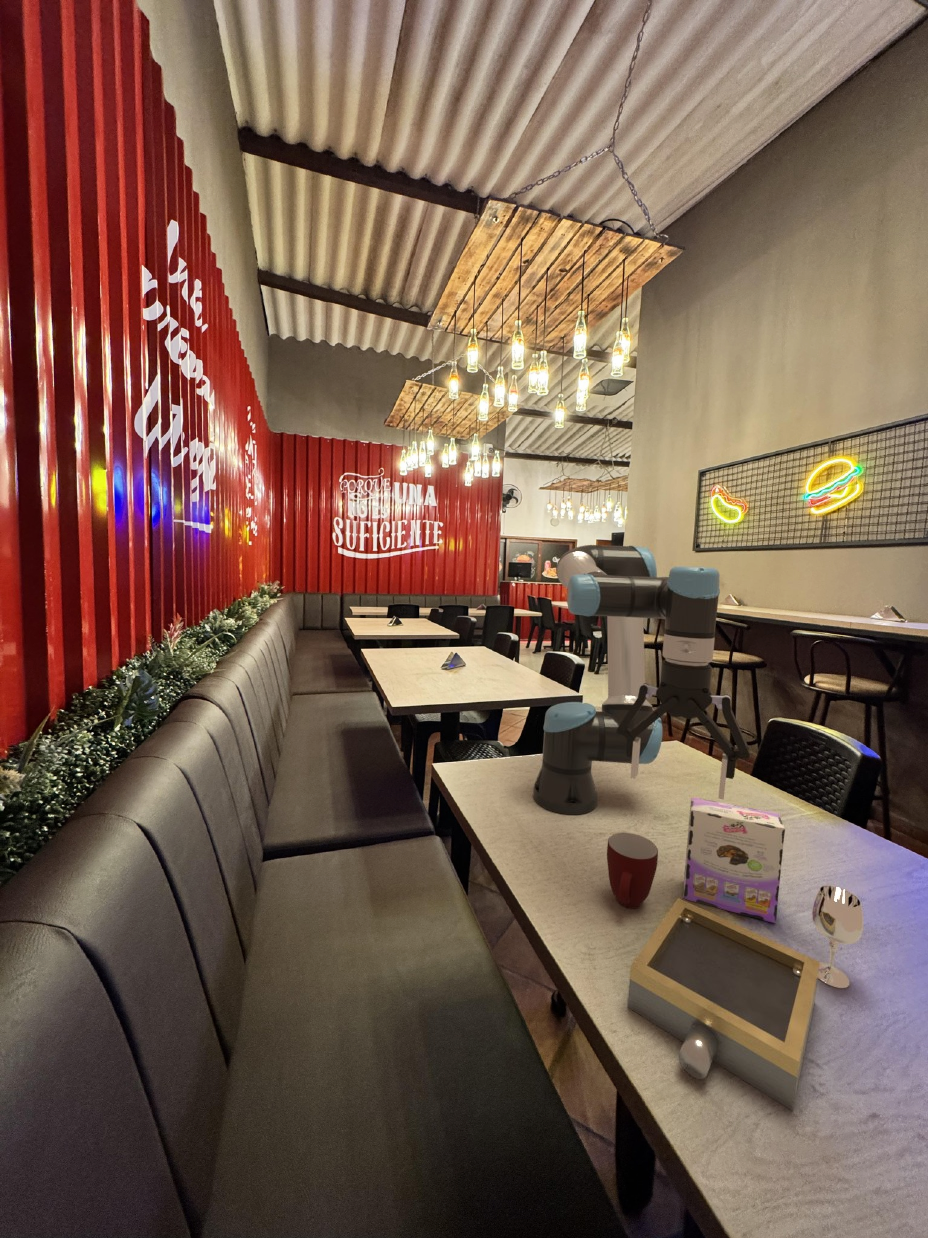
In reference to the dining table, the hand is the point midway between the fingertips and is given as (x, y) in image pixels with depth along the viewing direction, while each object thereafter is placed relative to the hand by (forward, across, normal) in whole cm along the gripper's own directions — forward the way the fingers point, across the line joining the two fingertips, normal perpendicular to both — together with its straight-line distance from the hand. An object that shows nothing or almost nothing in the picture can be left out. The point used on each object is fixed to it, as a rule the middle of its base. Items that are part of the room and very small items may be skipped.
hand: (676, 785), depth 84 cm
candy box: (+20, +9, +5) cm, 23 cm away
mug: (+20, -5, -6) cm, 22 cm away
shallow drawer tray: (+20, +9, -21) cm, 30 cm away
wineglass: (+20, +22, -5) cm, 31 cm away
